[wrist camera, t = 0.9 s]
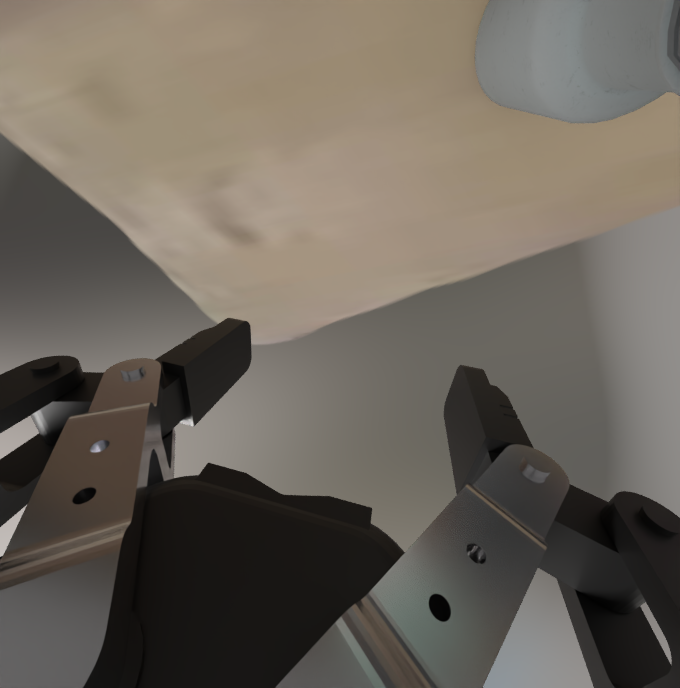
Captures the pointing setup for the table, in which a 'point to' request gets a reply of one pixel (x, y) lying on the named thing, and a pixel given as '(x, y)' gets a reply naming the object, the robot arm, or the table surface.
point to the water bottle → (578, 56)
